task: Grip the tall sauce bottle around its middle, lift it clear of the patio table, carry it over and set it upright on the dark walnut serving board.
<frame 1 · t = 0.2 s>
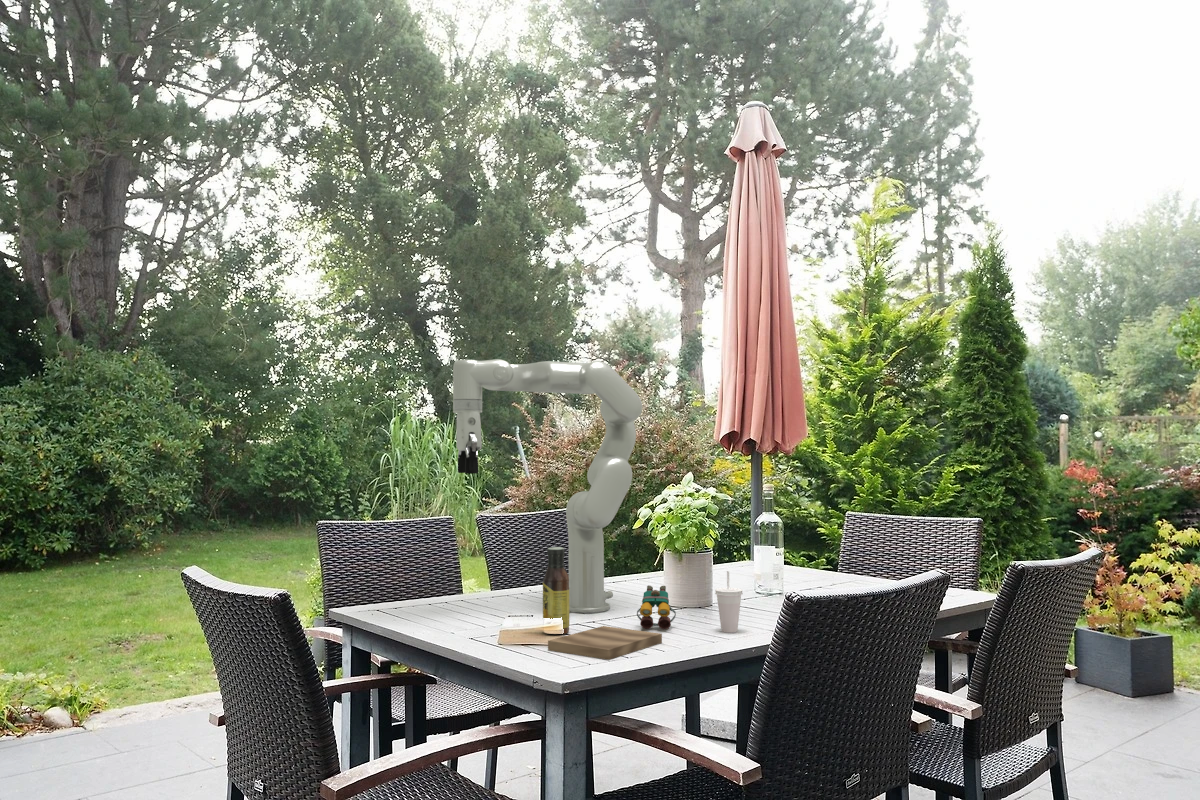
hand: (467, 473, 234), 37 cm above the table, tool pointing down, fingers open, 9 cm apart
sauce bottle: (556, 634, 210), on the table
walnut board: (605, 646, 196), on the table
smoothie: (729, 632, 211), on the table
binoculars: (655, 629, 215), on the table
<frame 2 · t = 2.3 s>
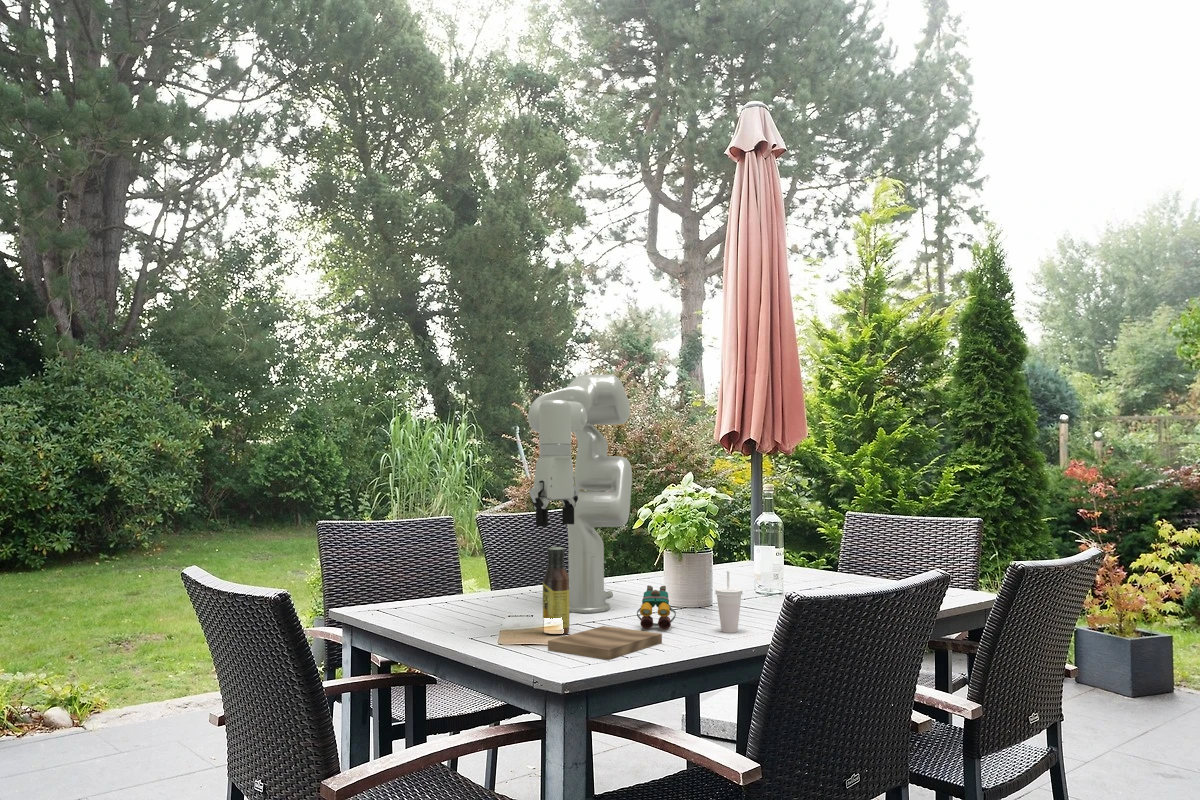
hand: (555, 525, 212), 25 cm above the table, tool pointing down, fingers open, 9 cm apart
nothing on the table moved.
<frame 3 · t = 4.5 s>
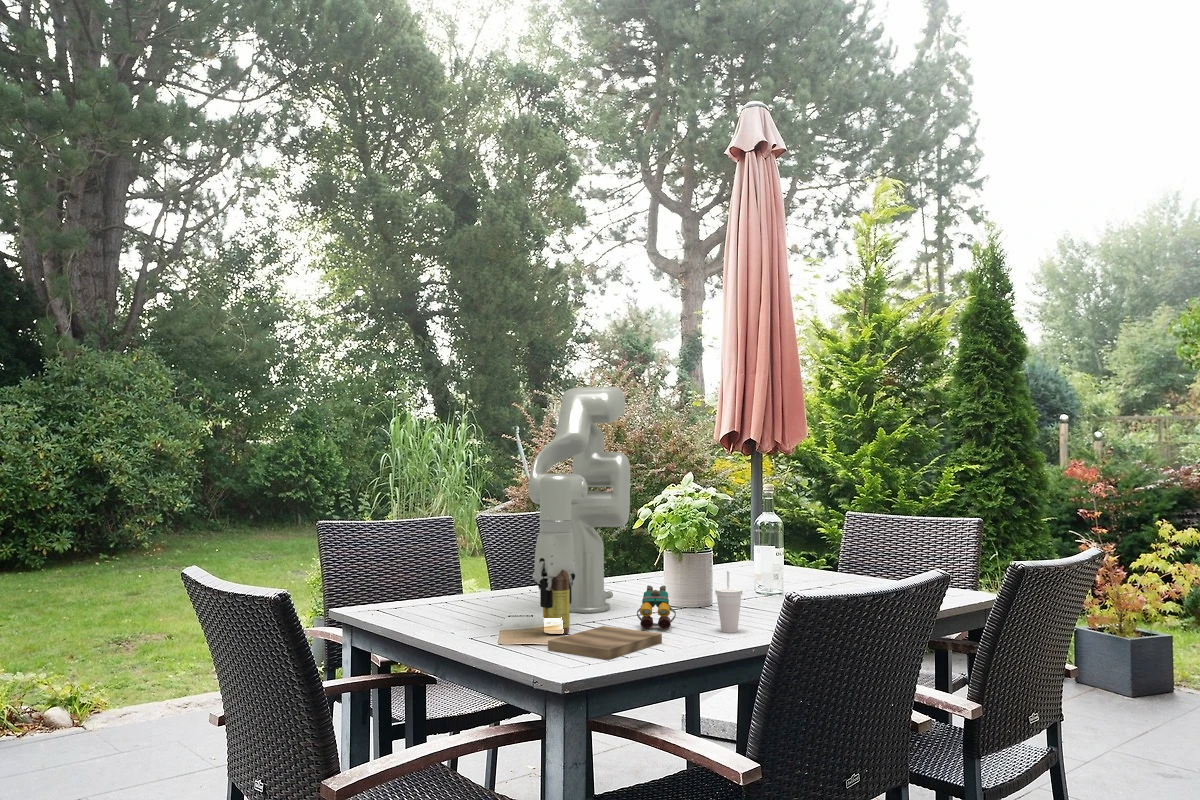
hand: (556, 604, 211), 7 cm above the table, tool pointing down, fingers closed on sauce bottle, 6 cm apart
sauce bottle: (556, 634, 210), on the table, touching gripper
everything else where it was.
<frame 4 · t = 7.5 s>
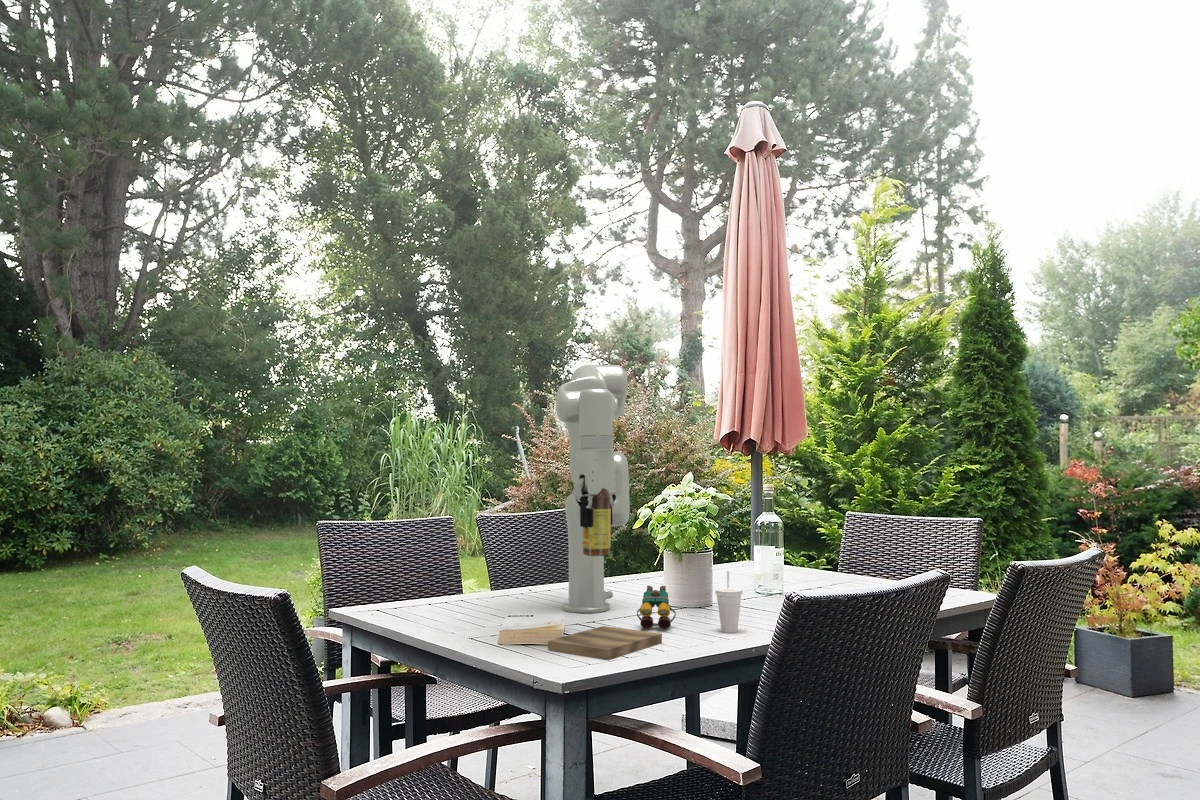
hand: (596, 525, 200), 26 cm above the table, tool pointing down, fingers closed on sauce bottle, 6 cm apart
sauce bottle: (596, 556, 199), point 19 cm above the table, touching gripper
everything else where it was.
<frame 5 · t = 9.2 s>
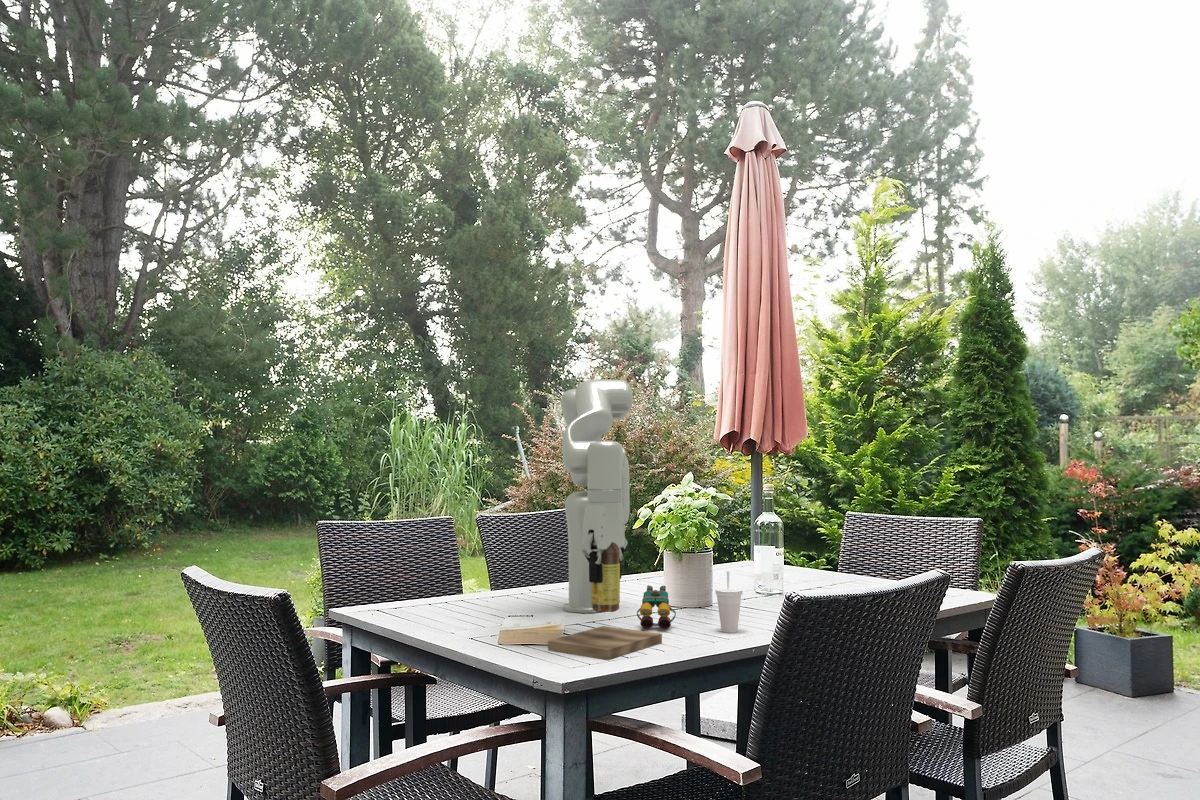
hand: (605, 579, 197), 14 cm above the table, tool pointing down, fingers closed on sauce bottle, 6 cm apart
sauce bottle: (605, 611, 196), point 7 cm above the table, touching gripper
everything else where it was.
when the fingers open (10 cm above the table, at t = 10.5 s): sauce bottle drops 1 cm, resting on walnut board.
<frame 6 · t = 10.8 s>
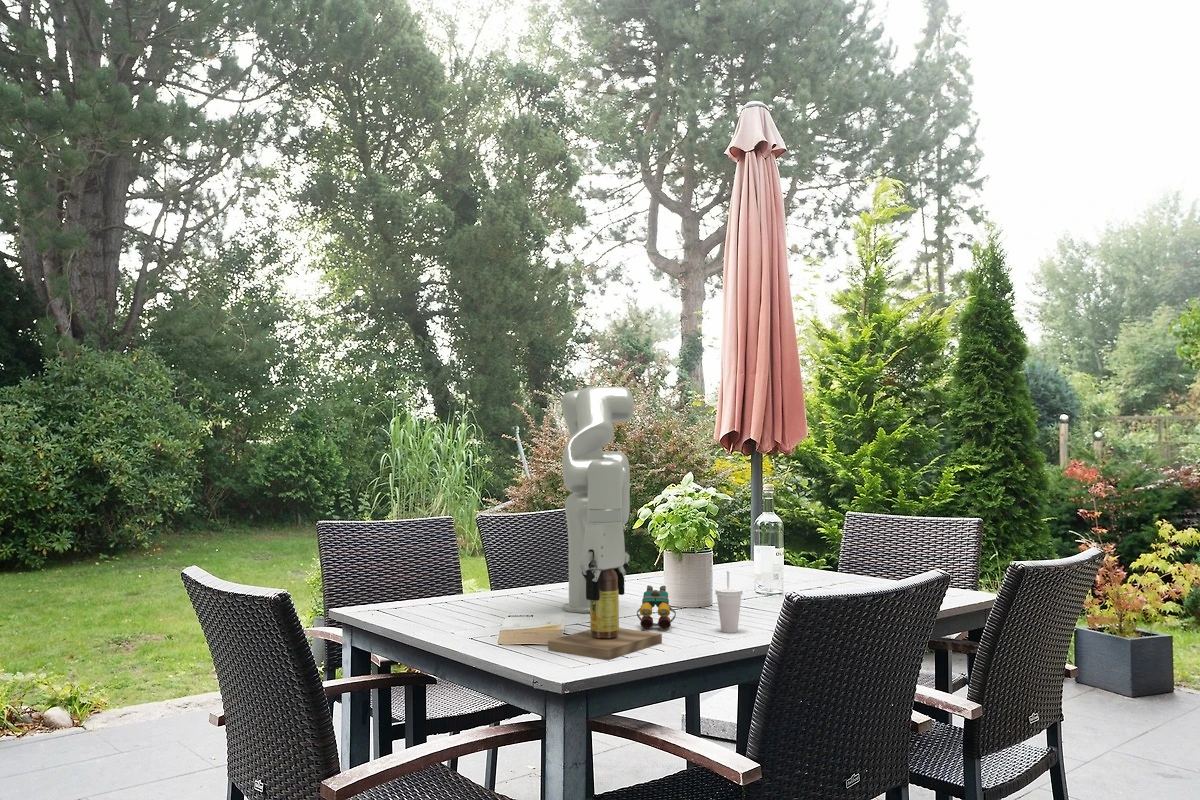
hand: (605, 596, 196), 11 cm above the table, tool pointing down, fingers open, 8 cm apart
sauce bottle: (604, 637, 196), point 2 cm above the table, touching walnut board
everything else where it was.
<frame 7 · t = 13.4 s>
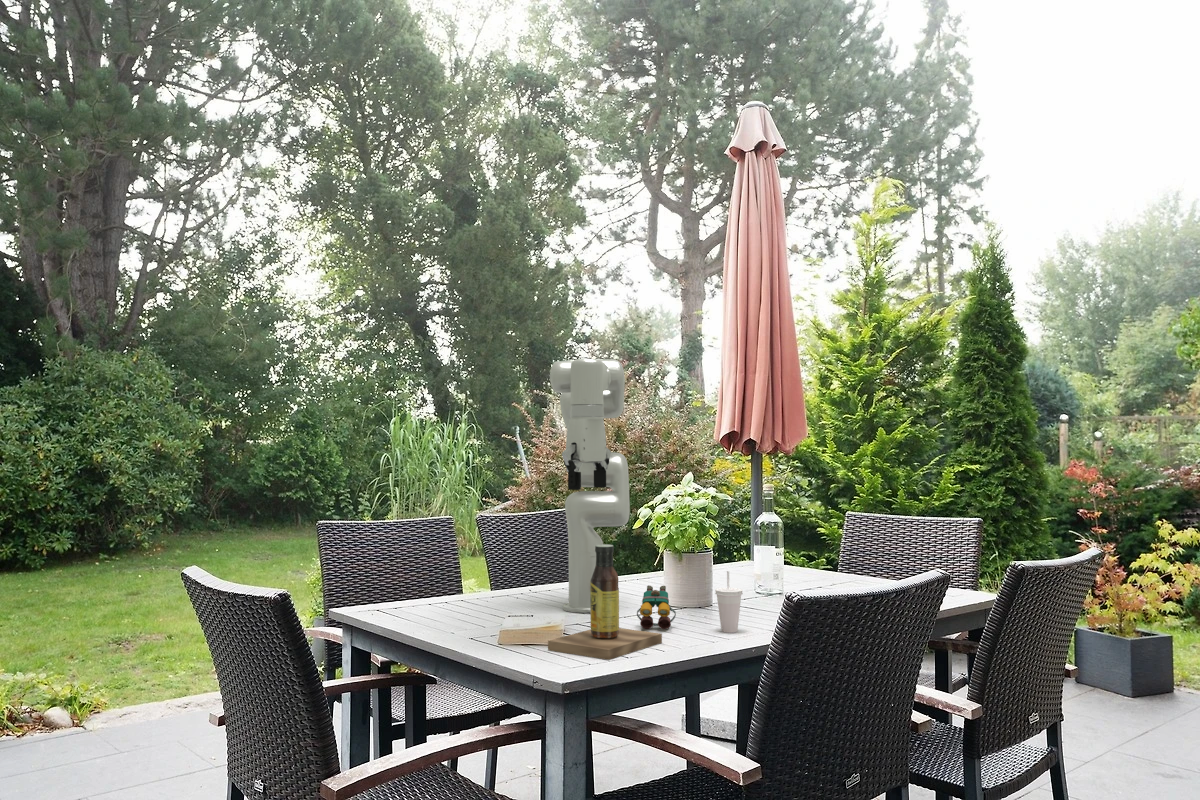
hand: (587, 488, 205), 34 cm above the table, tool pointing down, fingers open, 9 cm apart
nothing on the table moved.
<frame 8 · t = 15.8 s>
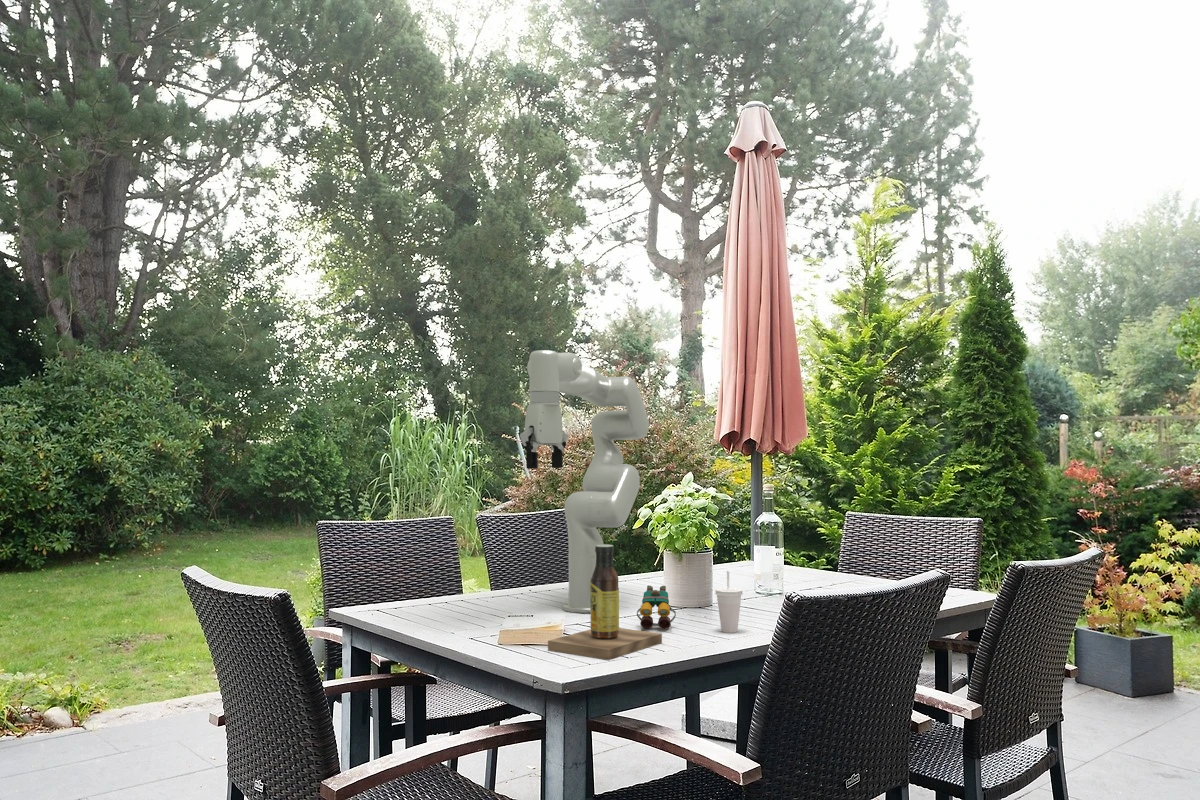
hand: (544, 468, 225), 38 cm above the table, tool pointing down, fingers open, 9 cm apart
nothing on the table moved.
at the end: sauce bottle inside the target area on the walnut board (0.2 cm from its centre), point 1.8 cm above the walnut board's base; sauce bottle tilted 0°; the gripper is holding nothing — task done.
